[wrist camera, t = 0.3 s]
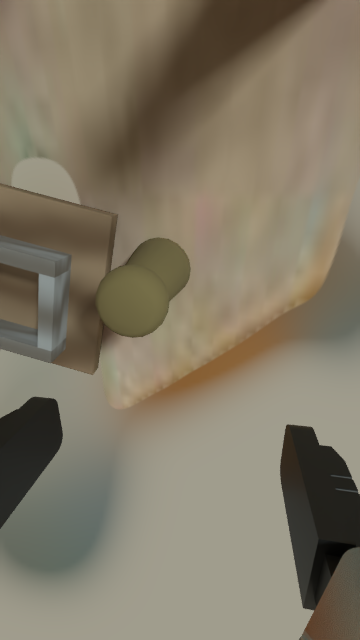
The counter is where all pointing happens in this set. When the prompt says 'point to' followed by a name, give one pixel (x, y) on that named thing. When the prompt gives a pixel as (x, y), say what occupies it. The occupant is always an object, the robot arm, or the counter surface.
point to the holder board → (52, 277)
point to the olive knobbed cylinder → (143, 288)
